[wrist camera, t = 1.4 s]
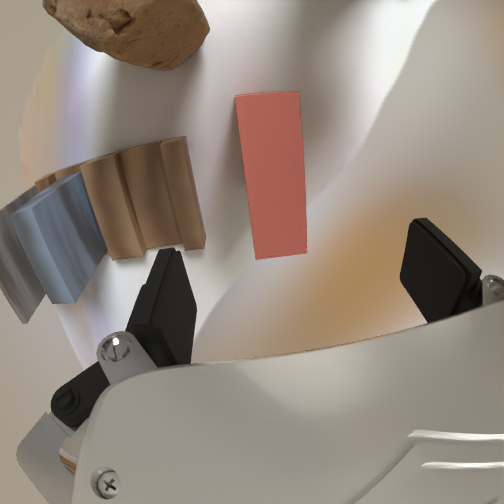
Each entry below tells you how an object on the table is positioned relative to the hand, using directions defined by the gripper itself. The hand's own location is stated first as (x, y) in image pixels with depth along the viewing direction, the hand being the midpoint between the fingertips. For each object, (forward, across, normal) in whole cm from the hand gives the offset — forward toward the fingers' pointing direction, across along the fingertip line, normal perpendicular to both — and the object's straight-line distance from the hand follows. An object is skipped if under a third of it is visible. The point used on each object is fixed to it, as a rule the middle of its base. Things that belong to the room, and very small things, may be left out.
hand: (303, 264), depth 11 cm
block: (+26, +9, -16) cm, 32 cm away
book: (+25, 0, 0) cm, 25 cm away
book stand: (+25, +19, +5) cm, 32 cm away
